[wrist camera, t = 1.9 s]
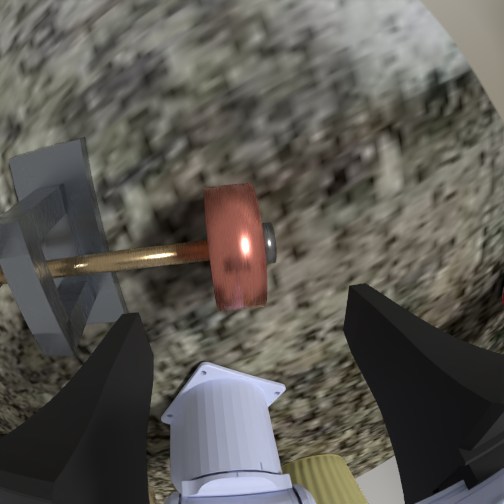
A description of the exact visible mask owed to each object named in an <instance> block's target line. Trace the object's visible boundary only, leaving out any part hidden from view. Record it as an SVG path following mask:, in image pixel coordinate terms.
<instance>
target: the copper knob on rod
mask: <svg viewBox="0 0 504 504" xmlns="http://www.w3.org/2000/svg"><path fill="white" fill-rule="evenodd" d="M204 207H205V219H206V229H207V239H208V240H201V241H193V242H184V243H176V244H168V245H160V246H152V247H144V248H136V249H128V250H120V251H113V252H105V253H97V254H90V255H82V256H75V257H68V258H60V259H53V260H46V261H47V264H48V267H49V270H50V272H51V275H52V278H62V277H71V276H79V275H88V274H97V273H106V272H114V271H123V270H132V269H140V268H149V267H157V266H166V265H175V264H183V263H192V262H200V261H209V260H210V265H211V272H212V279H213V286H214V293H215V299H216V304H217V309H218V312H222V311H230V310H238V309H246V308H254V307H261V306H265V305H266V301H267V267H266V264H271V263H275V262H276V240H275V234H274V229H273V226H272V224H271V222H268V223H261V217H260V211H259V206H258V202H257V197H256V194H255V190H254V187H253V185H252V183H242V184H232V185H223V186H214V187H205V188H204ZM3 284H8V282H7V280H6V278H5V275H4V273H3V270H2V268H1V265H0V287H1V286H2V285H3Z"/></svg>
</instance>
